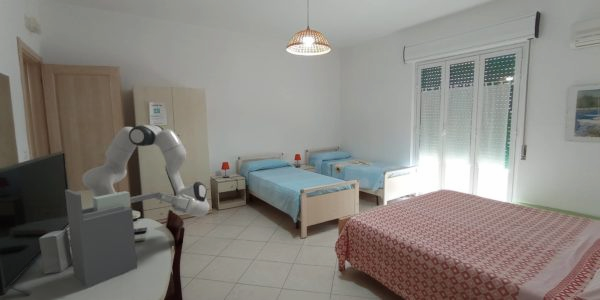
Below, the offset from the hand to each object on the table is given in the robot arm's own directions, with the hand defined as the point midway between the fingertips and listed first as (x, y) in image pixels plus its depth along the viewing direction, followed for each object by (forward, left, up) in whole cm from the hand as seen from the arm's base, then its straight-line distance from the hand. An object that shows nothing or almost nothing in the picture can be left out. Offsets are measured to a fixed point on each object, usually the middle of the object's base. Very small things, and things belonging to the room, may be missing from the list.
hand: (156, 194), depth 132 cm
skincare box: (-21, -34, -28) cm, 49 cm away
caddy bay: (0, -23, -28) cm, 36 cm away
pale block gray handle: (0, -11, -2) cm, 12 cm away
